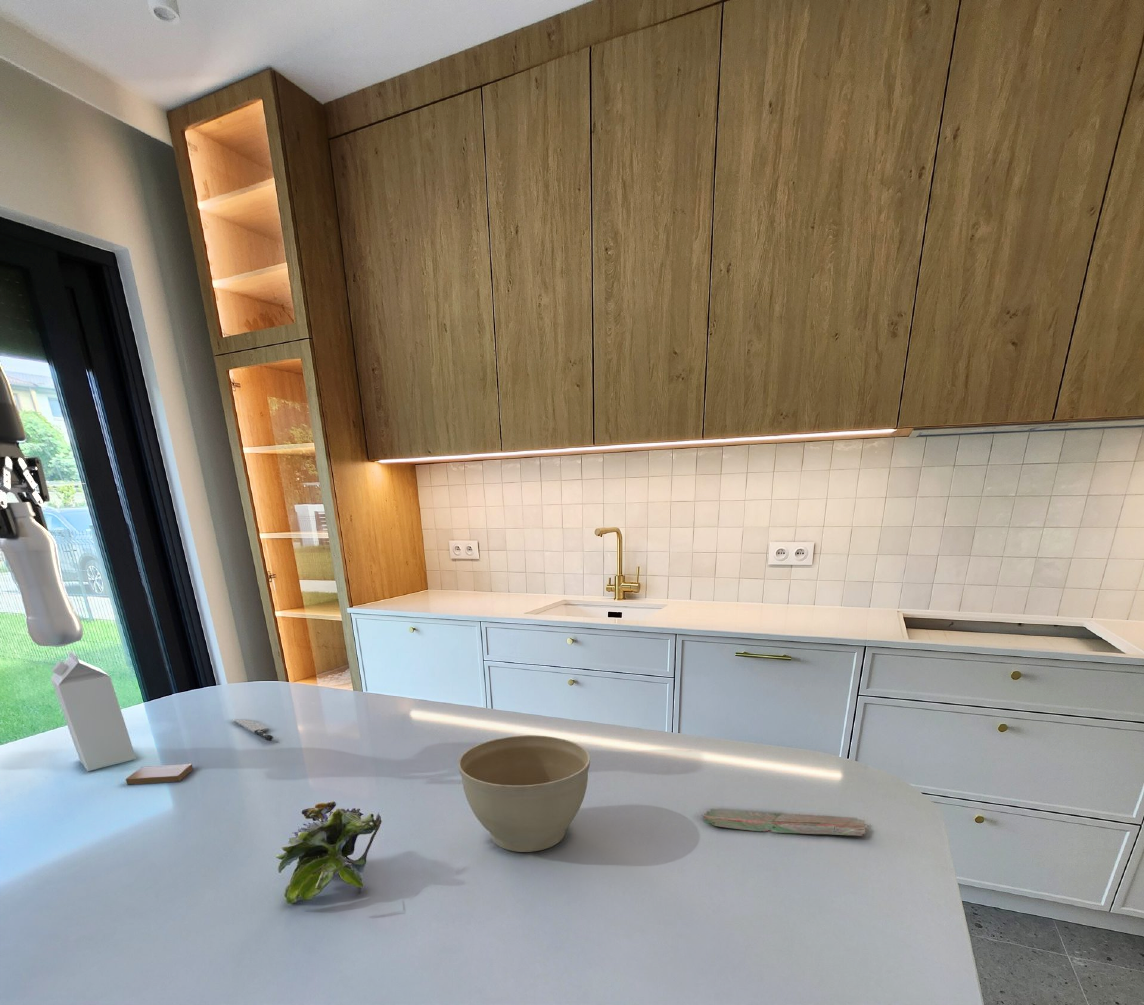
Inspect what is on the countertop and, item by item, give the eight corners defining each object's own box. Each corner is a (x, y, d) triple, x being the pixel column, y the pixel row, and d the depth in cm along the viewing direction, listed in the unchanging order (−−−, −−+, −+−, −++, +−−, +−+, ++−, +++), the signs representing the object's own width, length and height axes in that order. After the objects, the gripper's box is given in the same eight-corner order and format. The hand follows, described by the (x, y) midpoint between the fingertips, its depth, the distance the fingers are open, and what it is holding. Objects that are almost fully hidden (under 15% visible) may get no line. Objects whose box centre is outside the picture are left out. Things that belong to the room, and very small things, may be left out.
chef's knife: (247, 717, 133) (232, 720, 131) (246, 712, 132) (231, 715, 130) (284, 739, 120) (268, 742, 118) (283, 733, 120) (267, 736, 118)
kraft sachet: (127, 784, 103) (125, 779, 103) (143, 772, 108) (141, 766, 107) (179, 781, 104) (177, 775, 103) (193, 769, 108) (191, 763, 108)
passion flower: (338, 905, 80) (364, 810, 82) (389, 923, 73) (416, 819, 75) (248, 894, 72) (280, 789, 74) (297, 913, 65) (330, 796, 67)
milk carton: (126, 749, 118) (93, 645, 110) (136, 759, 113) (102, 651, 105) (79, 761, 113) (41, 653, 106) (88, 772, 108) (48, 660, 101)
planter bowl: (527, 884, 74) (522, 798, 69) (440, 839, 84) (431, 761, 80) (617, 831, 84) (616, 753, 80) (530, 796, 95) (526, 726, 90)
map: (702, 812, 89) (702, 806, 89) (862, 817, 84) (863, 811, 84) (700, 830, 85) (700, 824, 84) (870, 836, 80) (870, 830, 80)
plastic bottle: (22, 650, 95) (-31, 503, 87) (62, 640, 101) (16, 502, 94) (60, 651, 94) (10, 502, 86) (98, 640, 100) (55, 501, 93)
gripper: (-12, 408, 91) (30, 534, 98) (-98, 394, 78) (-43, 541, 85) (45, 407, 92) (82, 532, 99) (-31, 393, 79) (18, 539, 85)
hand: (24, 536), depth 92 cm, fingers closed on plastic bottle, 6 cm apart
